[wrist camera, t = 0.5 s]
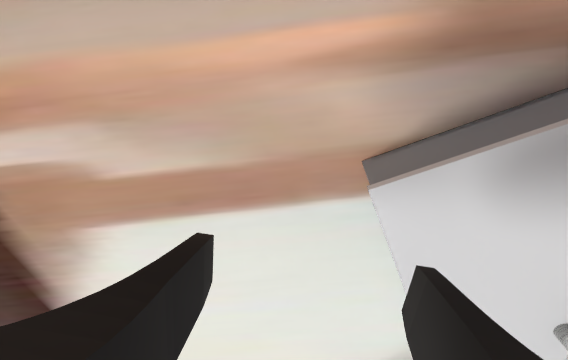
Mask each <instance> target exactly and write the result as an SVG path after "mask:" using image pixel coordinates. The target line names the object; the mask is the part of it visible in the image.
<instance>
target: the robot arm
mask: <svg viewBox="0 0 568 360" xmlns="http://www.w3.org/2000/svg"><path fill="white" fill-rule="evenodd" d="M213 241H214V235H209V234H202V233H196V234H194V235H193V236H191V237H190V238H188V239H187V240H186V241H184V242H183V243H181V244H180V245H178V246H177V247H175V248H174V249H172V250H171V251H169V252H168V253H166V254H165V255H163V256H162V257H160V258H159V259H157V260H156V261H154V262H152V263H151V264H149V265H147V266H146V267H144V268H142V269H141V270H139V271H137V272H136V273H134V274H132V275H130V276H129V277H127V278H125V279H123V280H121V281H119V282H117V283H115V284H113V285H111V286H109V287H107V288H105V289H103V290H101V291H98V292H96V293H94V294H92V295H89V296H87V297H84V298H82V299H79V300H77V301H75V302H72V303H70V304H67V305H65V306H62V307H60V308H57V309H54V310H51V311H48V312H46V313H43V314H40V315H37V316H34V317H31V318H28V319H24V320H21V321H18V322H15V323H12V324H8V325H5V326H1V327H0V360H177V359H178V357H179V355H180V353H181V351H182V349H183V347H184V345H185V343H186V341H187V339H188V337H189V335H190V333H191V331H192V329H193V327H194V325H195V323H196V321H197V319H198V316H199V314H200V312H201V310H202V308H203V306H204V303H205V301H206V298H207V295H208V292H209V289H210V286H211V283H212V275H213ZM402 315H403V321H404V327H405V332H406V337H407V341H408V344H409V348H410V351H411V354H412V357H413V360H544V359H542V358H541V357H539V356H538V355H537V354H535V353H534V352H533V351H531V350H530V349H528V348H527V347H526V346H524V345H523V344H522V343H521V342H519V341H518V340H517V339H515V338H514V337H513V336H512V335H511V334H509V333H508V332H507V331H506V330H504V329H503V328H502V327H501V326H500V325H498V324H497V323H496V322H495V321H494V320H492V319H491V318H490V317H489V316H488V315H487V314H485V313H484V312H483V311H482V310H481V309H480V308H479V307H477V306H476V305H475V304H474V303H473V302H472V301H471V300H470V299H469V298H468V297H466V296H465V295H464V294H463V293H462V292H461V291H460V290H459V289H458V288H457V287H455V286H454V285H453V284H452V283H451V282H450V281H449V280H448V279H447V278H446V277H444V276H443V275H442V274H441V273H440V272H439V271H437V270H436V269H435V268H432V267H425V266H418V265H416V268H415V271H414V274H413V277H412V280H411V283H410V286H409V289H408V293H407V296H406V299H405V302H404V305H403V308H402Z"/></svg>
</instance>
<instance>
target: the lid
mask: <svg viewBox="0 0 568 360" xmlns="http://www.w3.org/2000/svg"><path fill="white" fill-rule="evenodd" d="M367 188H368V191H369V194H370V196H371V199H372V202H373V205H374V207H375V210H376V213H377V216H378V218H379V221H380V224H381V227H382V229H383V232H384V235H385V238H386V240H387V243H388V246H389V249H390V251H391V254H392V257H393V260H394V262H395V265H396V268H397V271H398V273H399V276H400V279H401V282H402V284H403V287H404V290H405V293H406V295H407V293H408V289H409V286H410V283H411V280H412V277H413V274H414V271H415V268H416V265H418V266H425V267H432V268H435V269H436V270H437V271H439V272H440V273H441V274H442V275H443V276H444V277H446V278H447V279H448V280H449V281H450V282H451V283H452V284H453V285H454V286H455V287H457V288H458V289H459V290H460V291H461V292H462V293H463V294H464V295H465V296H466V297H468V298H469V299H470V300H471V301H472V302H473V303H474V304H475V305H476V306H477V307H479V308H480V309H481V310H482V311H483V312H484V313H485V314H487V315H488V316H489V317H490V318H491V319H492V320H494V321H495V322H496V323H497V324H498V325H500V326H501V327H502V328H503V329H504V330H506V331H507V332H508V333H509V334H511V335H512V336H513V337H514V338H515V339H517V340H518V341H519V342H521V343H522V344H523V345H524V346H526V347H527V348H528V349H530V350H531V351H533V352H534V353H535V354H537V355H538V356H539V357H541V358H542V359H544V360H568V119H565V120H562V121H559V122H556V123H553V124H550V125H547V126H544V127H541V128H538V129H535V130H533V131H530V132H527V133H524V134H521V135H518V136H515V137H512V138H509V139H506V140H503V141H500V142H497V143H494V144H491V145H488V146H485V147H482V148H479V149H476V150H473V151H470V152H467V153H464V154H461V155H458V156H455V157H452V158H449V159H446V160H443V161H440V162H437V163H434V164H431V165H428V166H425V167H422V168H419V169H416V170H413V171H410V172H407V173H404V174H401V175H398V176H395V177H393V178H390V179H387V180H384V181H381V182H378V183H375V184H372V185H369V186H367Z"/></svg>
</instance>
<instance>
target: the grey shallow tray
mask: <svg viewBox="0 0 568 360" xmlns="http://www.w3.org/2000/svg"><path fill="white" fill-rule="evenodd" d="M565 119H568V88H567V89H564V90H561V91H558V92H555V93H553V94H550V95H547V96H544V97H541V98H539V99H536V100H533V101H530V102H527V103H524V104H522V105H519V106H516V107H513V108H510V109H508V110H505V111H502V112H499V113H496V114H494V115H491V116H488V117H485V118H482V119H479V120H477V121H474V122H471V123H468V124H465V125H463V126H460V127H457V128H454V129H451V130H448V131H446V132H443V133H440V134H437V135H434V136H432V137H429V138H426V139H423V140H420V141H418V142H415V143H412V144H409V145H406V146H403V147H401V148H398V149H395V150H392V151H389V152H387V153H384V154H381V155H378V156H375V157H372V158H370V159H367V160H364V161H362V163H363V166H364V169H365V172H366V175H367V177H368V180H369V183H370V185H372V184H375V183H378V182H381V181H384V180H387V179H390V178H393V177H395V176H398V175H401V174H404V173H407V172H410V171H413V170H416V169H419V168H422V167H425V166H428V165H431V164H434V163H437V162H440V161H443V160H446V159H449V158H452V157H455V156H458V155H461V154H464V153H467V152H470V151H473V150H476V149H479V148H482V147H485V146H488V145H491V144H494V143H497V142H500V141H503V140H506V139H509V138H512V137H515V136H518V135H521V134H524V133H527V132H530V131H533V130H535V129H538V128H541V127H544V126H547V125H550V124H553V123H556V122H559V121H562V120H565Z"/></svg>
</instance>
